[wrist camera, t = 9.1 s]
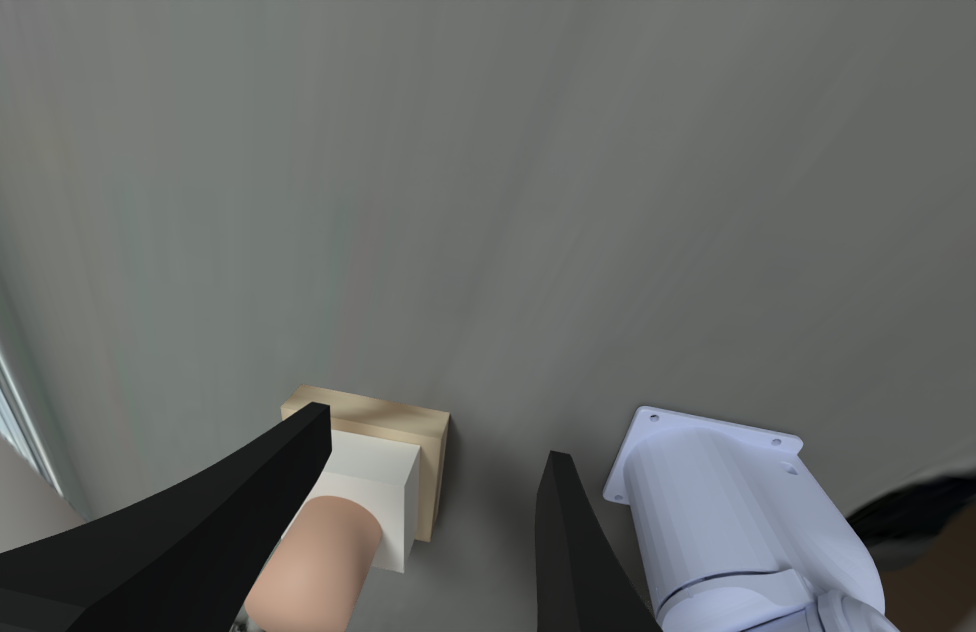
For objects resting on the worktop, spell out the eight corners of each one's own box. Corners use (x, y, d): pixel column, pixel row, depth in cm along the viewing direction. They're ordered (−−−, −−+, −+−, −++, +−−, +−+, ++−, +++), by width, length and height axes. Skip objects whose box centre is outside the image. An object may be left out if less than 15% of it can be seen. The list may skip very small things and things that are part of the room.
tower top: (420, 445, 24) (404, 486, 21) (417, 529, 28) (403, 572, 25) (294, 422, 24) (263, 459, 22) (308, 507, 28) (283, 548, 26)
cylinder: (396, 525, 23) (361, 623, 18) (358, 562, 25) (318, 657, 21) (321, 482, 22) (265, 574, 18) (288, 523, 24) (231, 615, 20)
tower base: (451, 406, 26) (441, 438, 24) (439, 505, 31) (430, 542, 28) (306, 378, 27) (280, 407, 24) (316, 480, 31) (295, 513, 29)
